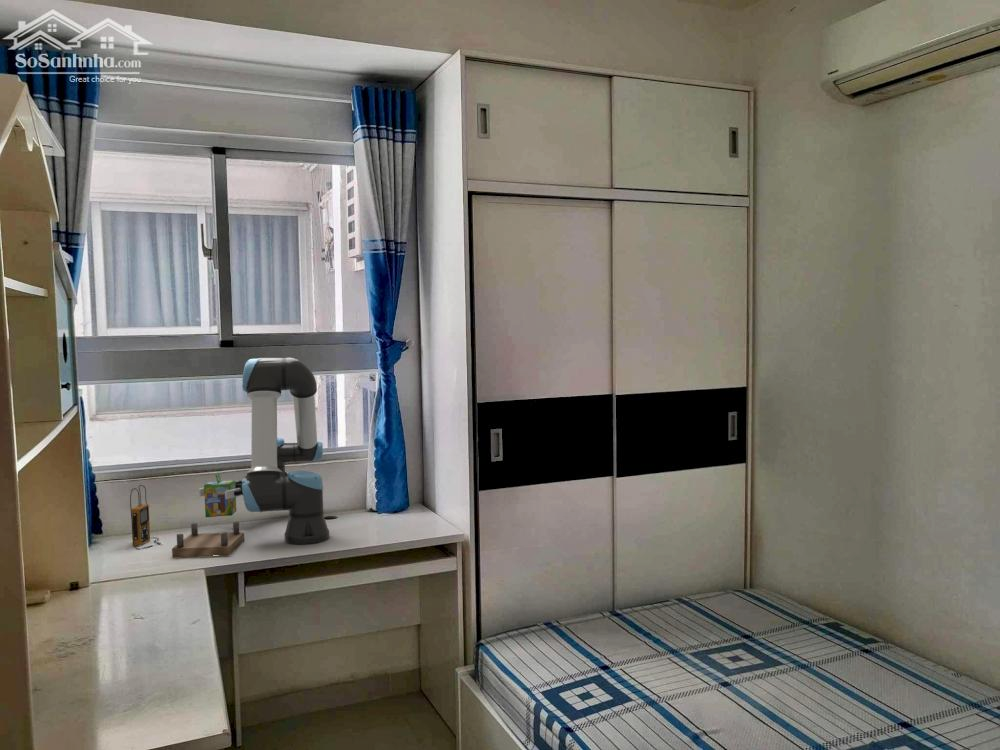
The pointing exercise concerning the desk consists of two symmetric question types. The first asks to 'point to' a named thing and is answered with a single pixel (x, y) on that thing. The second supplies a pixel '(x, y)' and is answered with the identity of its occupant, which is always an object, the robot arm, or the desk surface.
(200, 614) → the desk surface
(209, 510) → the chalk box
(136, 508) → the multimeter
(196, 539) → the peg stand
